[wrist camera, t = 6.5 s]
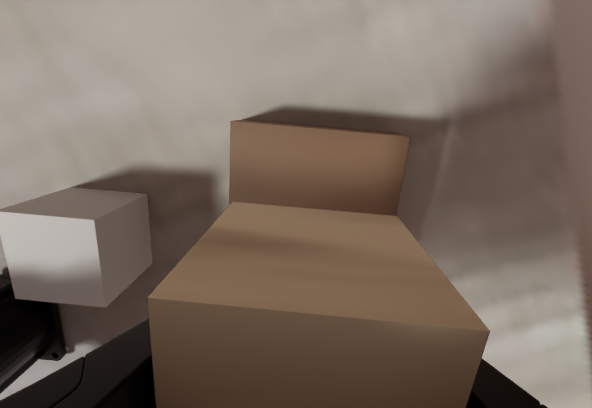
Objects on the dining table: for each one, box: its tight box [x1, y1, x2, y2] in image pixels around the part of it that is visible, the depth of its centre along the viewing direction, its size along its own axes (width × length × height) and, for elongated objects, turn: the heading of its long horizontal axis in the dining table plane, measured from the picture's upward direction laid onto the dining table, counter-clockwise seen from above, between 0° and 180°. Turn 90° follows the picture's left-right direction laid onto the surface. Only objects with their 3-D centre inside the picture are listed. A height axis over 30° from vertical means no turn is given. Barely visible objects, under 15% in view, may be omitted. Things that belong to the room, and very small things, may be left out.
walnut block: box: [229, 120, 411, 216], centre depth 18 cm, size 9×9×3 cm
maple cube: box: [147, 202, 490, 408], centre depth 8 cm, size 5×5×5 cm
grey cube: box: [0, 187, 153, 308], centre depth 18 cm, size 5×5×5 cm
